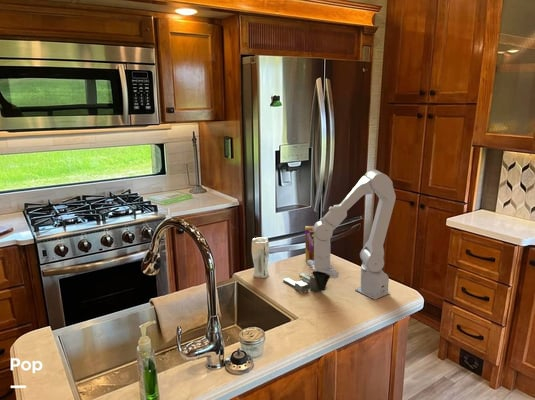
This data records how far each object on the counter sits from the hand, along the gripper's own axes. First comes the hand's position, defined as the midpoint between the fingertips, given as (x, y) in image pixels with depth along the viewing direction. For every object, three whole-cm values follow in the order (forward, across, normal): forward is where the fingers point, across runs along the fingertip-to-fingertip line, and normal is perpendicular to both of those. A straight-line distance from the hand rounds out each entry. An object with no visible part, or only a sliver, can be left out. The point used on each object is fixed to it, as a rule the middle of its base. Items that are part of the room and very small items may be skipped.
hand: (321, 290), depth 146 cm
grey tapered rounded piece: (+1, -6, 0) cm, 7 cm away
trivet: (+1, -12, +12) cm, 17 cm away
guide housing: (+1, -10, 0) cm, 11 cm away
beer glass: (+2, -26, -9) cm, 28 cm away
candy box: (+1, -25, +19) cm, 32 cm away
